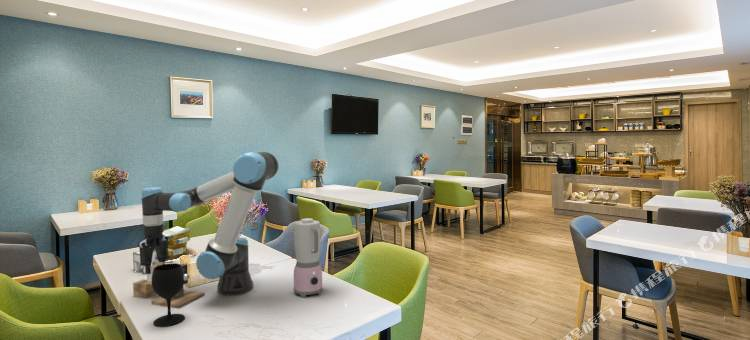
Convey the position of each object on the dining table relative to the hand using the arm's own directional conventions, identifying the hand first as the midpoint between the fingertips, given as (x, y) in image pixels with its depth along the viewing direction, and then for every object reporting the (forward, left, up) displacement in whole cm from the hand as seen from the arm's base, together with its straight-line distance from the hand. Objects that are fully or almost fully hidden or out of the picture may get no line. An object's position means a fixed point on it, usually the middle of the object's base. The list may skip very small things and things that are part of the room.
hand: (155, 278), depth 168 cm
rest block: (+6, 0, -8) cm, 10 cm away
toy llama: (+32, -26, -8) cm, 42 cm away
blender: (-61, -22, -8) cm, 65 cm away
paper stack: (+41, -51, -8) cm, 66 cm away
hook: (-8, 0, -2) cm, 8 cm away
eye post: (-12, 0, -7) cm, 14 cm away
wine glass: (-24, +17, -8) cm, 30 cm away
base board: (-12, 0, -8) cm, 14 cm away
